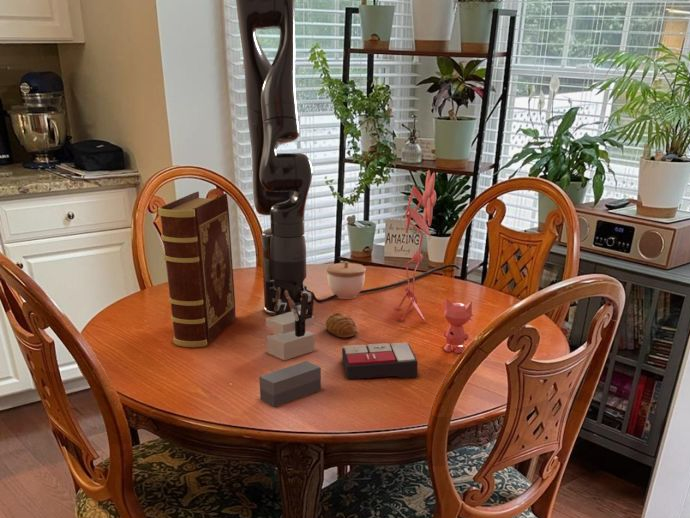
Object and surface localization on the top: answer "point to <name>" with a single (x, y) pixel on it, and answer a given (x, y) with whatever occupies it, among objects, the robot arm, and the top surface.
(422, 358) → the top surface
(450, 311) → the cat figurine
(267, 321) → the beige flat block
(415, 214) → the figurine
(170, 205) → the decorative book
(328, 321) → the pastry
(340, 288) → the trinket box
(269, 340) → the light gray block
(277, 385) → the gray sharpening stone
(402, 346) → the grey and red box
